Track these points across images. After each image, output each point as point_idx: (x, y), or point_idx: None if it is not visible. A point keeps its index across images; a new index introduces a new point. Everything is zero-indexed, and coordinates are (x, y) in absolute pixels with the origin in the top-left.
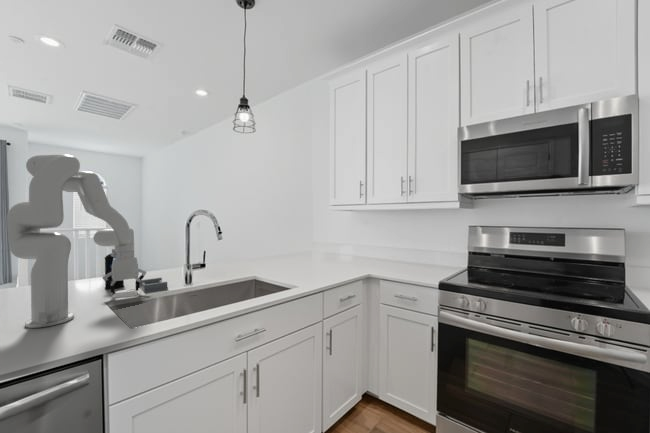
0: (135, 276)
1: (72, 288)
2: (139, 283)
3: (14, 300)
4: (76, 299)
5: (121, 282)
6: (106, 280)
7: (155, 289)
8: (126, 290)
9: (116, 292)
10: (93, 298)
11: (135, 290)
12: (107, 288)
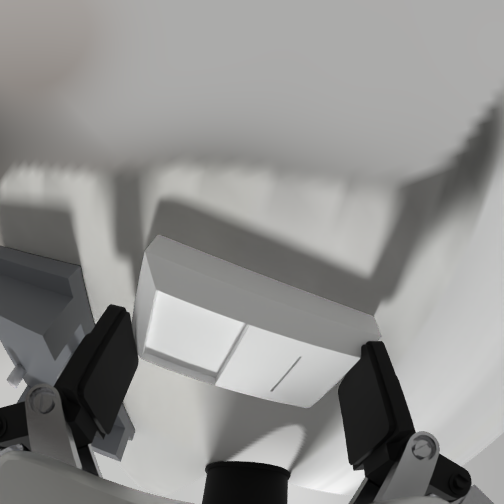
0: (28, 483)
1: (352, 493)
2: (63, 372)
3: (487, 443)
4: (466, 399)
5: (217, 487)
6: (462, 494)
7: (6, 258)
8: (230, 371)
9: (342, 363)
10: (434, 380)
11: (141, 323)
12: (284, 474)
